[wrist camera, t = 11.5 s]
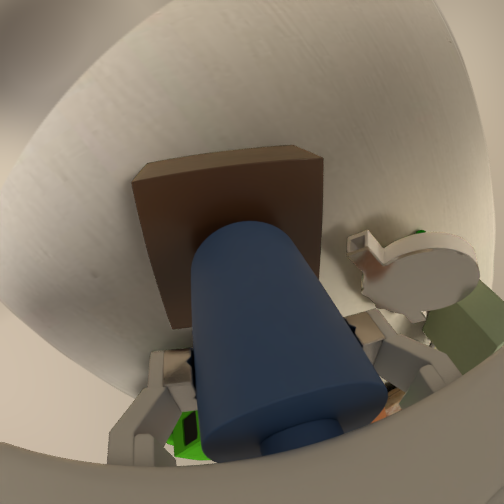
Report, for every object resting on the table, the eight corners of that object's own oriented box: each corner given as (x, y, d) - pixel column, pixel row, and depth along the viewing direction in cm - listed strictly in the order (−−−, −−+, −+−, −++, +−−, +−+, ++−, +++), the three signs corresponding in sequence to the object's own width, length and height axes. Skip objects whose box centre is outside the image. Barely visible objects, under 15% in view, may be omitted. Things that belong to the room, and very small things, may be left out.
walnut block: (146, 163, 17) (130, 182, 13) (293, 144, 18) (324, 157, 14) (174, 286, 22) (172, 330, 18) (294, 267, 23) (316, 304, 19)
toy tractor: (249, 410, 34) (264, 474, 25) (134, 378, 27) (130, 458, 18) (305, 366, 31) (334, 437, 22) (179, 318, 24) (181, 419, 15)
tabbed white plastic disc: (320, 262, 22) (451, 274, 13) (351, 186, 24) (465, 171, 15) (392, 325, 29) (476, 343, 19) (412, 266, 31) (492, 272, 21)
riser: (439, 285, 29) (497, 346, 19) (472, 273, 30) (525, 323, 20) (421, 330, 33) (467, 389, 23) (455, 315, 34) (499, 364, 24)
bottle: (181, 230, 13) (199, 591, 1) (298, 213, 13) (493, 477, 2) (201, 320, 15) (238, 564, 4) (297, 303, 16) (397, 517, 5)
